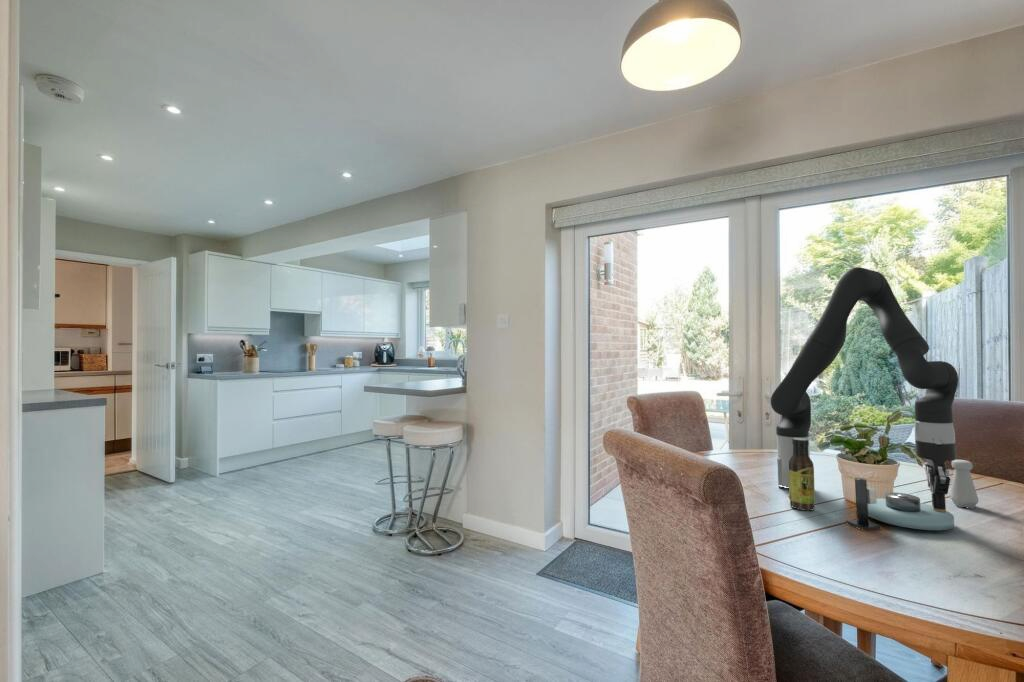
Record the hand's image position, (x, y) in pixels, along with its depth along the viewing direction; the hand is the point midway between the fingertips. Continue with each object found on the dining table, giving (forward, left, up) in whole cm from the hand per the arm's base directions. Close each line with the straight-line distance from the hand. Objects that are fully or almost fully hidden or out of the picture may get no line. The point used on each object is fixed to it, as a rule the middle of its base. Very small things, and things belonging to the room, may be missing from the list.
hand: (938, 508), depth 114 cm
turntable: (-6, +1, -4) cm, 7 cm away
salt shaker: (+10, +23, -5) cm, 26 cm away
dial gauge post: (-16, -8, -5) cm, 19 cm away
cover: (-7, +2, -2) cm, 7 cm away
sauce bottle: (-29, +1, -5) cm, 30 cm away
